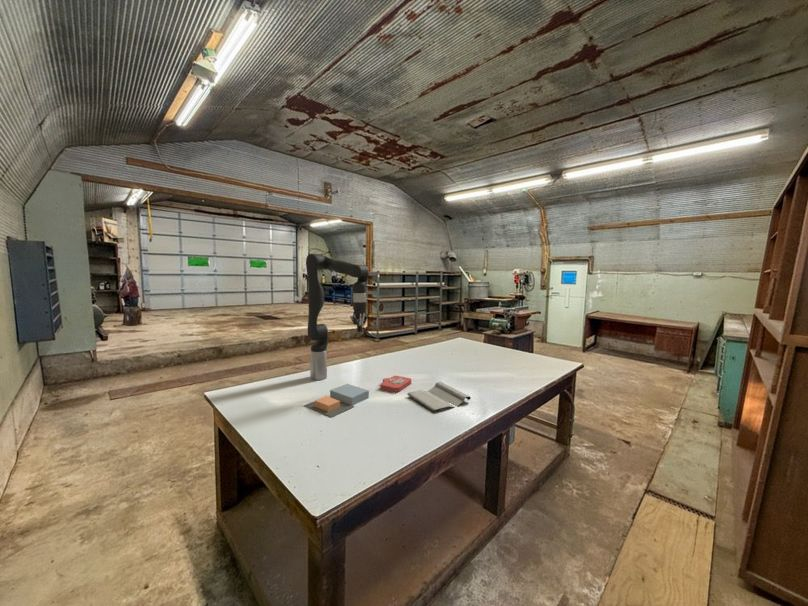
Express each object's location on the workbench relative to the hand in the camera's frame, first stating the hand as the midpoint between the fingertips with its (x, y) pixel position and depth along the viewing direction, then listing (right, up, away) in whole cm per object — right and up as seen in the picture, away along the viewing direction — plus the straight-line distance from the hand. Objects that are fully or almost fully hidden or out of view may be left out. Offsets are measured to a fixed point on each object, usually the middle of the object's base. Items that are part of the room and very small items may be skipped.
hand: (359, 331), depth 176 cm
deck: (-4, -33, -13) cm, 36 cm away
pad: (-12, -34, -24) cm, 43 cm away
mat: (+42, -35, -14) cm, 56 cm away
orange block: (-12, -31, -25) cm, 41 cm away
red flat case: (+19, -32, +6) cm, 38 cm away
